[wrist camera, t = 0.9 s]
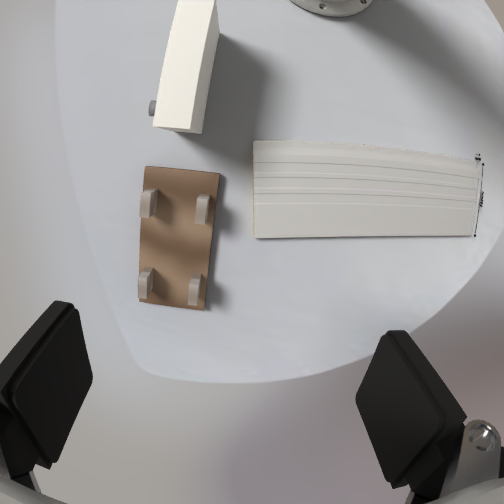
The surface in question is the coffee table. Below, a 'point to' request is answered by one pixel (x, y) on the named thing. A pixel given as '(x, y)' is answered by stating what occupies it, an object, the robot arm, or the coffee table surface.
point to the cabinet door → (187, 68)
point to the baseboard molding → (360, 191)
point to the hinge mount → (176, 236)
